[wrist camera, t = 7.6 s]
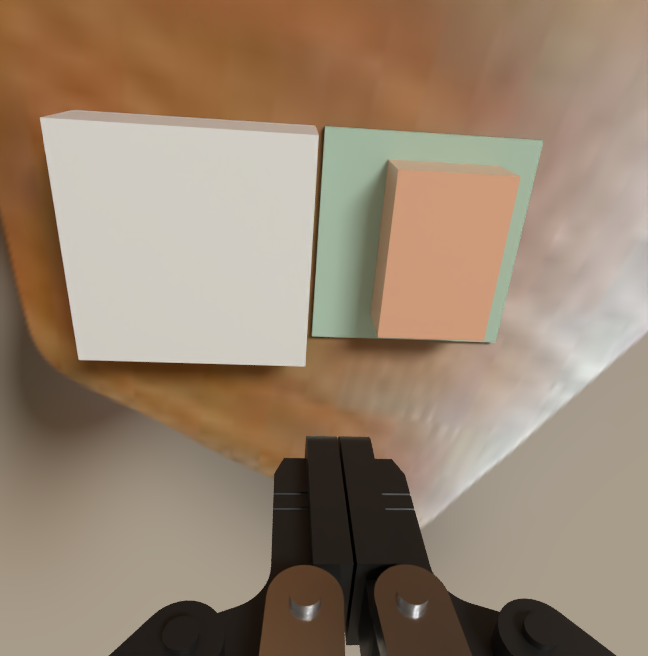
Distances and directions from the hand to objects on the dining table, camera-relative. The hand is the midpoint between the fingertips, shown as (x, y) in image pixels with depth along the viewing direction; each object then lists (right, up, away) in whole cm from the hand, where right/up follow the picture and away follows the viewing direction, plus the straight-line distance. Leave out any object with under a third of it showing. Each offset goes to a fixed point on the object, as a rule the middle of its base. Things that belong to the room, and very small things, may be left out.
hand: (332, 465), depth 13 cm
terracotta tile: (+6, +7, +16) cm, 19 cm away
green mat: (+5, +8, +18) cm, 20 cm away
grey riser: (-7, +9, +17) cm, 20 cm away
